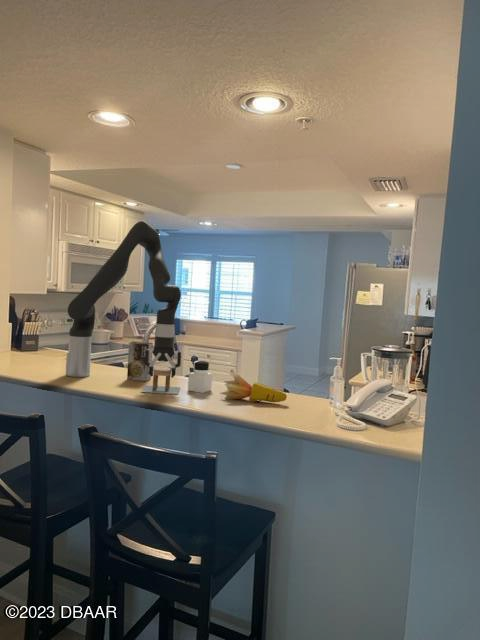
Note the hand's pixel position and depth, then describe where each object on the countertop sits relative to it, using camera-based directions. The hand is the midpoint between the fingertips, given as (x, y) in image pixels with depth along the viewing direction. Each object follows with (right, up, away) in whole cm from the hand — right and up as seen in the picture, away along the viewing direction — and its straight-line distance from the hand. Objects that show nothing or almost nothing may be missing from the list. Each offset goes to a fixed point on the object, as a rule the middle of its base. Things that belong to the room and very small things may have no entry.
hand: (162, 376), depth 179 cm
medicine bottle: (+14, -6, +5) cm, 17 cm away
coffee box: (-13, -4, +19) cm, 24 cm away
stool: (0, -5, 0) cm, 5 cm away
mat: (0, -5, 0) cm, 5 cm away
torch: (+35, -9, -7) cm, 37 cm away
